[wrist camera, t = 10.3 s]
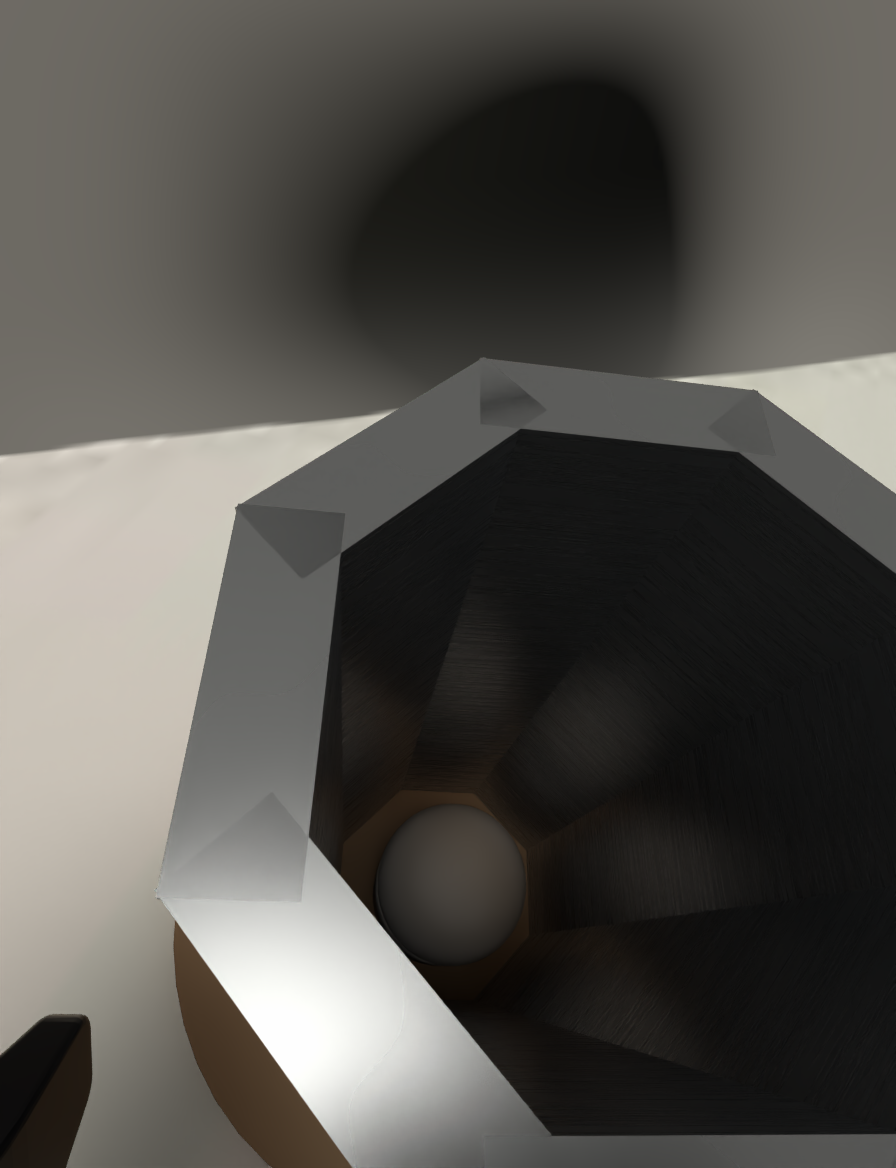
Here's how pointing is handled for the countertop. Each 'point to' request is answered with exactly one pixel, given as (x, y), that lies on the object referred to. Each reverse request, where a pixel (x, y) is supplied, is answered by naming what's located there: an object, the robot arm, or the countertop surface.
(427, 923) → the post stand
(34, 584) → the countertop surface
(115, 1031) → the countertop surface
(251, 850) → the steel sleeve
